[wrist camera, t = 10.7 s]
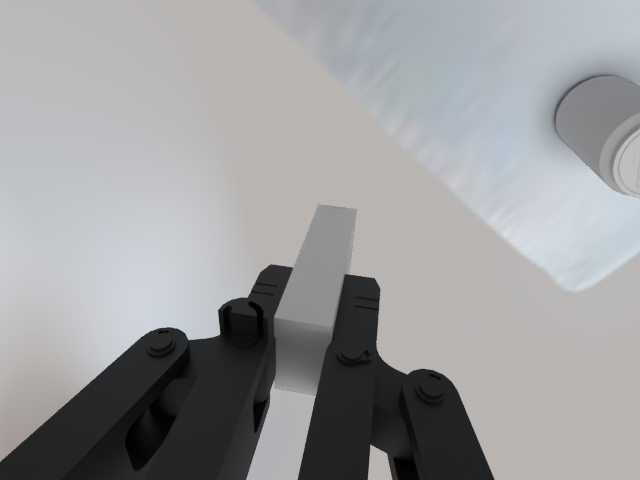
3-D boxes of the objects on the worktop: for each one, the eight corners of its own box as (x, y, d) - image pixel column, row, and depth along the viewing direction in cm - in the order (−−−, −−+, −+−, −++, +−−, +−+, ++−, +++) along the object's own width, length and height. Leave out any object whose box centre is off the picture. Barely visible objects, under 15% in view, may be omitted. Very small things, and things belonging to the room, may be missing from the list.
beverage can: (648, 77, 34) (750, 114, 24) (614, 151, 38) (692, 210, 28) (568, 70, 35) (634, 103, 25) (542, 143, 38) (591, 198, 28)
